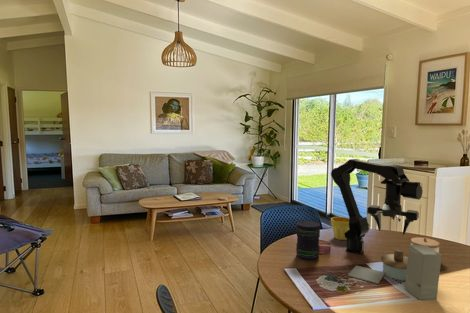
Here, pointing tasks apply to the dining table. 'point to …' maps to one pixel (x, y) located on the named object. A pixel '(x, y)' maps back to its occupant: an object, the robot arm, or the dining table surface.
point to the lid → (395, 260)
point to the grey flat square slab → (366, 274)
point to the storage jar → (308, 240)
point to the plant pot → (340, 227)
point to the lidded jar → (426, 243)
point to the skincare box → (423, 272)
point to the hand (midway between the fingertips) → (391, 232)
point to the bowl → (394, 272)
